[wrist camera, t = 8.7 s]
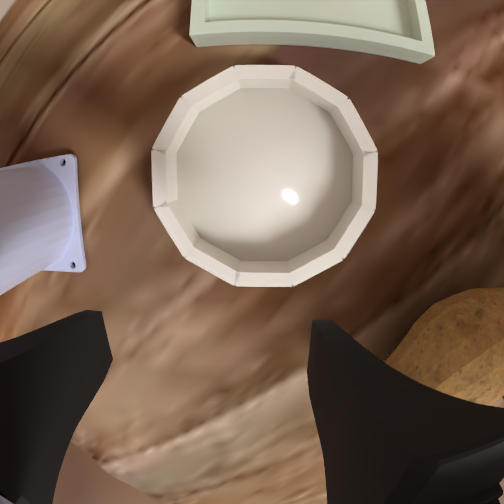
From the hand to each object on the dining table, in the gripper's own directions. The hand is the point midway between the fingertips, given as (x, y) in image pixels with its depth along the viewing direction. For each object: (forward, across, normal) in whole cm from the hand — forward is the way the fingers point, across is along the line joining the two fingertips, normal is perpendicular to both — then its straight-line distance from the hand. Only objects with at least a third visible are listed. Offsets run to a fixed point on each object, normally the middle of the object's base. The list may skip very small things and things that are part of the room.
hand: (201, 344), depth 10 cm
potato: (+10, -15, +6) cm, 19 cm away
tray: (+9, -5, -19) cm, 22 cm away
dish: (+9, -2, -5) cm, 11 cm away
